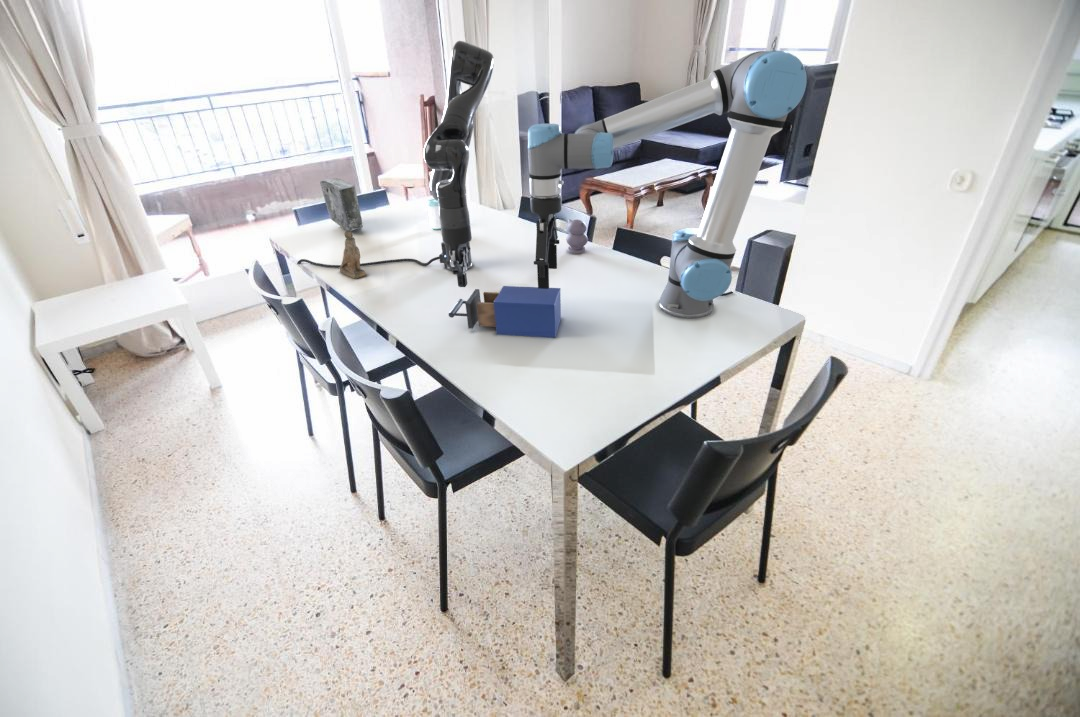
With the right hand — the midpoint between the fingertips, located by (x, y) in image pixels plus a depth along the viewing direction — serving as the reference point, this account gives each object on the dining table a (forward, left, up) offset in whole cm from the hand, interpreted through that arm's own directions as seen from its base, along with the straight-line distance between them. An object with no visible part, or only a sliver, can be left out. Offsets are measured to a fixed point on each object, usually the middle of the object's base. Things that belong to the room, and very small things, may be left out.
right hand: (547, 277), depth 130 cm
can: (+27, -106, -15) cm, 111 cm away
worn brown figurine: (+59, -59, -15) cm, 85 cm away
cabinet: (+5, -2, -15) cm, 16 cm away
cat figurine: (-24, -58, -15) cm, 65 cm away
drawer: (+16, -6, -14) cm, 22 cm away
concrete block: (+68, -119, -15) cm, 137 cm away
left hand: (+22, -9, -3) cm, 24 cm away
